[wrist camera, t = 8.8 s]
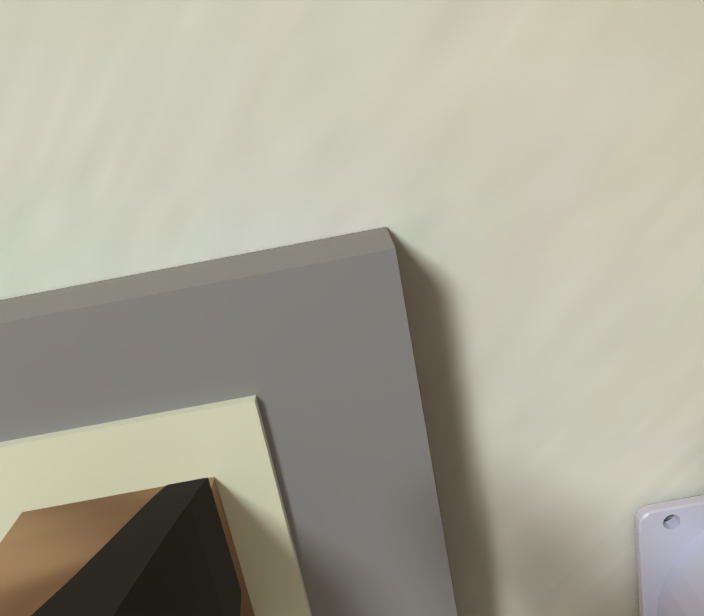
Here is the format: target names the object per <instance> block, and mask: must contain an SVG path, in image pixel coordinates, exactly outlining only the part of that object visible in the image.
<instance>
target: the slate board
mask: <svg viewBox="0 0 704 616" xmlns="http://www.w3.org/2000/svg"><path fill="white" fill-rule="evenodd" d="M207 477H208V478H211V477H215V480H216V484H217V487H218V491H219V494H220V498H221V501H222V504H223V508H224V511H225V515H226V518H227V522H228V525H229V528H230V532H231V535H232V539H233V542H234V546H235V549H236V552H237V556H238V559H239V563H240V566H241V570H242V573H243V576H244V580H245V583H246V587H247V590H248V594H249V597H250V600H251V604H252V607H253V611H254V614H255V616H457V610H456V604H455V598H454V592H453V586H452V580H451V574H450V568H449V562H448V556H447V550H446V544H445V539H444V533H443V527H442V521H441V515H440V509H439V503H438V497H437V491H436V485H435V479H434V473H433V467H432V462H431V456H430V450H429V444H428V438H427V432H426V426H425V420H424V414H423V408H422V402H421V396H420V390H419V385H418V379H417V373H416V367H415V361H414V355H413V349H412V343H411V337H410V331H409V325H408V319H407V313H406V308H405V302H404V296H403V290H402V284H401V278H400V272H399V266H398V260H397V254H396V248H395V246H394V244H393V241H392V239H391V236H390V234H389V232H388V229H387V227H383V228H378V229H373V230H368V231H362V232H357V233H352V234H346V235H341V236H336V237H331V238H325V239H320V240H315V241H310V242H304V243H299V244H294V245H289V246H283V247H278V248H273V249H267V250H262V251H257V252H252V253H246V254H241V255H236V256H231V257H225V258H220V259H215V260H210V261H204V262H199V263H194V264H188V265H183V266H178V267H173V268H167V269H162V270H157V271H152V272H146V273H141V274H136V275H130V276H125V277H120V278H115V279H109V280H104V281H99V282H94V283H88V284H83V285H78V286H73V287H67V288H62V289H57V290H51V291H46V292H41V293H36V294H30V295H25V296H20V297H15V298H9V299H4V300H0V542H1V541H2V540H3V538H4V537H5V535H6V534H7V533H8V531H9V530H10V528H11V527H12V526H13V524H14V523H15V521H16V520H17V519H18V517H19V516H20V514H21V513H22V512H26V511H31V510H37V509H42V508H47V507H53V506H58V505H64V504H69V503H75V502H80V501H86V500H91V499H97V498H102V497H107V496H113V495H118V494H124V493H129V492H135V491H140V490H146V489H151V488H156V487H162V486H166V485H168V484H174V483H179V482H185V481H190V480H196V479H201V478H207Z"/></svg>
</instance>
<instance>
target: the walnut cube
mask: <svg viewBox="0 0 704 616" xmlns="http://www.w3.org/2000/svg"><path fill="white" fill-rule="evenodd" d="M208 479H209V482H210V486H211V489H212V493H213V496H214V499H215V503H216V506H217V510H218V513H219V517H220V520H221V523H222V527H223V530H224V534H225V537H226V541H227V544H228V547H229V551H230V554H231V558H232V561H233V564H234V568H235V571H236V575H237V578H238V582H239V585H240V588H241V608H240V616H255V614H254V611H253V607H252V604H251V600H250V597H249V594H248V590H247V587H246V583H245V580H244V576H243V573H242V570H241V566H240V563H239V559H238V556H237V552H236V549H235V546H234V542H233V539H232V535H231V532H230V528H229V525H228V522H227V518H226V515H225V511H224V508H223V504H222V501H221V498H220V494H219V491H218V487H217V484H216V480H215V477H211V478H208ZM164 487H165V486H162V487H156V488H151V489H146V490H140V491H135V492H129V493H124V494H118V495H113V496H107V497H102V498H97V499H91V500H86V501H80V502H75V503H69V504H64V505H58V506H53V507H47V508H42V509H37V510H31V511H26V512H22V513H21V514H20V516H19V517H18V519H17V520H16V521H15V523H14V524H13V526H12V527H11V528H10V530H9V531H8V533H7V534H6V535H5V537H4V538H3V540H2V541H1V542H0V616H31V615H32V614H33V613H34V612H35V611H36V610H38V609H39V608H40V607H41V606H42V605H43V604H44V603H45V602H46V601H47V600H48V599H49V598H51V597H52V596H53V595H54V594H55V593H56V592H57V591H58V590H59V589H60V588H61V587H62V586H64V585H65V584H66V583H67V582H68V581H69V580H70V579H71V578H72V577H73V576H74V575H75V574H76V573H77V572H78V571H79V570H80V569H81V568H82V567H83V566H84V565H85V564H86V563H87V562H88V561H89V560H90V559H91V558H92V557H93V556H94V555H95V554H96V553H97V552H98V551H99V550H100V549H101V548H102V547H103V546H104V545H105V544H106V543H107V542H108V541H109V540H110V539H111V538H112V537H113V536H114V535H115V534H116V533H117V532H118V531H119V530H120V529H121V528H122V527H123V526H124V525H125V524H126V523H127V522H128V521H129V520H130V519H131V518H132V517H133V516H134V515H135V514H136V513H137V512H138V511H139V510H140V509H141V508H142V507H143V506H144V505H145V504H146V503H147V502H148V501H149V500H150V499H151V498H153V497H154V496H155V495H156V494H157V493H158V492H159V491H160V490H161V489H163V488H164Z"/></svg>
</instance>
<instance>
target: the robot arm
mask: <svg viewBox="0 0 704 616" xmlns="http://www.w3.org/2000/svg"><path fill="white" fill-rule="evenodd" d="M669 515H673V517H672V518H671V519H670V520H668V521H664V519H665V518H666V517H667V516H669ZM634 528H635V544H636V560H637V577H638V593H639V610H640V616H704V495H700V496H694V497H688V498H683V499H677V500H672V501H666V502H660V503H655V504H649V505H646V506H643V507H642V508H641V509H639V510H638V512H637V513H636V515H635V518H634ZM240 608H241V588H240V585H239V582H238V578H237V575H236V571H235V568H234V564H233V561H232V558H231V554H230V551H229V547H228V544H227V541H226V537H225V534H224V530H223V527H222V523H221V520H220V517H219V513H218V510H217V506H216V503H215V499H214V496H213V493H212V489H211V486H210V482H209V479H208V477H207V478H201V479H196V480H190V481H185V482H179V483H174V484H168V485H166V486H165V487H164V488H163V489H161V490H160V491H159V492H158V493H157V494H156V495H155V496H154V497H153V498H151V499H150V500H149V501H148V502H147V503H146V504H145V505H144V506H143V507H142V508H141V509H140V510H139V511H138V512H137V513H136V514H135V515H134V516H133V517H132V518H131V519H130V520H129V521H128V522H127V523H126V524H125V525H124V526H123V527H122V528H121V529H120V530H119V531H118V532H117V533H116V534H115V535H114V536H113V537H112V538H111V539H110V540H109V541H108V542H107V543H106V544H105V545H104V546H103V547H102V548H101V549H100V550H99V551H98V552H97V553H96V554H95V555H94V556H93V557H92V558H91V559H90V560H89V561H88V562H87V563H86V564H85V565H84V566H83V567H82V568H81V569H80V570H79V571H78V572H77V573H76V574H75V575H74V576H73V577H72V578H71V579H70V580H69V581H68V582H67V583H66V584H65V585H64V586H62V587H61V588H60V589H59V590H58V591H57V592H56V593H55V594H54V595H53V596H52V597H51V598H49V599H48V600H47V601H46V602H45V603H44V604H43V605H42V606H41V607H40V608H39V609H38V610H36V611H35V612H34V613H33V614H32V615H31V616H240Z"/></svg>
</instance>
